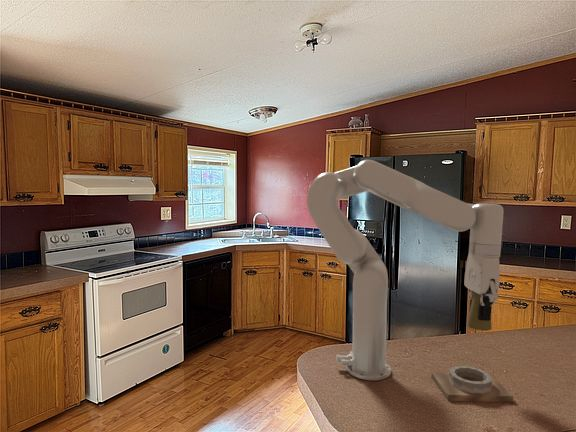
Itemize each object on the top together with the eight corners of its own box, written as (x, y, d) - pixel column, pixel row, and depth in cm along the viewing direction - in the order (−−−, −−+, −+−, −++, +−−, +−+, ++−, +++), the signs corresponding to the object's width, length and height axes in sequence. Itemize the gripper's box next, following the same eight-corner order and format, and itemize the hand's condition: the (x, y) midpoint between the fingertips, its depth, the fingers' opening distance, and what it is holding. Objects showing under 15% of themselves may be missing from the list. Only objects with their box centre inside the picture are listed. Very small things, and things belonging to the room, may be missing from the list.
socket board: (448, 400, 98) (448, 385, 97) (431, 377, 110) (432, 363, 109) (512, 402, 97) (513, 386, 97) (489, 378, 109) (489, 364, 109)
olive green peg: (495, 331, 102) (498, 290, 101) (470, 329, 103) (473, 288, 102) (487, 323, 108) (490, 284, 107) (464, 321, 109) (466, 282, 108)
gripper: (456, 244, 112) (452, 307, 114) (486, 255, 96) (481, 327, 97) (482, 245, 112) (478, 307, 114) (517, 256, 96) (511, 328, 97)
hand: (479, 316), depth 105 cm, fingers closed on olive green peg, 4 cm apart
